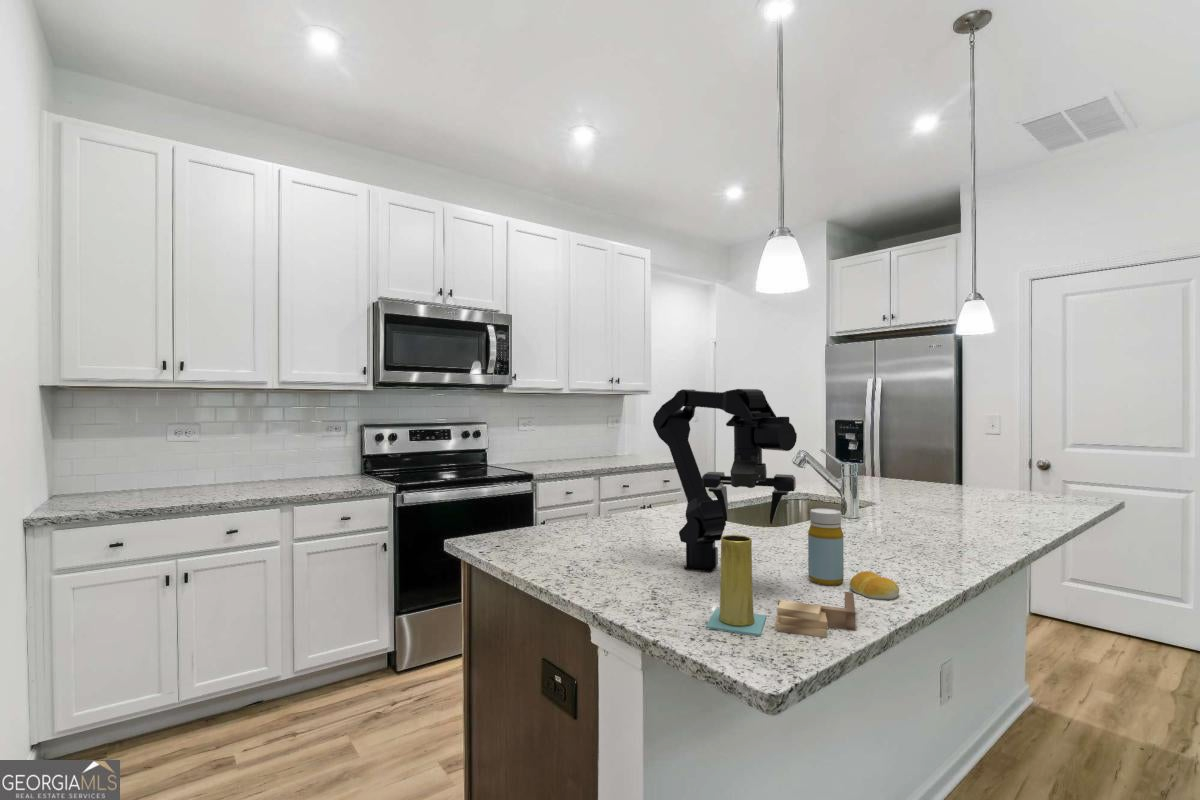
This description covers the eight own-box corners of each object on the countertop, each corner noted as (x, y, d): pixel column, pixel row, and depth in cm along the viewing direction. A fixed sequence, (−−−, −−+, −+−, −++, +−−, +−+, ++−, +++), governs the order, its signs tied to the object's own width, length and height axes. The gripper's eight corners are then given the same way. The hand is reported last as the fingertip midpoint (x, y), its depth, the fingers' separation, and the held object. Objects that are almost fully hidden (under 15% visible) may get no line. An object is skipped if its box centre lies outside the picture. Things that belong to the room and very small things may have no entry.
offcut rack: (775, 630, 97) (774, 609, 97) (783, 600, 112) (782, 581, 112) (856, 642, 92) (856, 619, 92) (853, 608, 108) (853, 589, 108)
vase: (711, 619, 101) (711, 537, 101) (733, 611, 105) (733, 532, 105) (739, 629, 97) (739, 544, 97) (761, 621, 101) (761, 538, 101)
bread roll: (878, 603, 111) (878, 582, 111) (842, 589, 119) (842, 570, 119) (910, 598, 114) (909, 577, 114) (873, 584, 122) (873, 565, 122)
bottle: (846, 587, 120) (846, 514, 120) (811, 585, 121) (810, 513, 122) (839, 577, 127) (839, 508, 127) (806, 575, 128) (806, 507, 128)
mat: (705, 628, 98) (705, 626, 98) (715, 610, 107) (715, 608, 107) (760, 636, 95) (760, 634, 95) (766, 617, 103) (766, 615, 103)
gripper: (695, 450, 119) (696, 526, 119) (791, 452, 112) (792, 533, 111) (707, 446, 129) (707, 516, 129) (795, 448, 122) (796, 522, 122)
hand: (748, 522), depth 122 cm, fingers open, 9 cm apart
